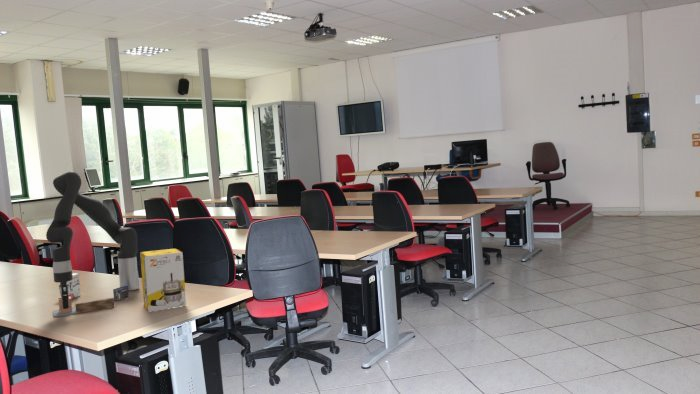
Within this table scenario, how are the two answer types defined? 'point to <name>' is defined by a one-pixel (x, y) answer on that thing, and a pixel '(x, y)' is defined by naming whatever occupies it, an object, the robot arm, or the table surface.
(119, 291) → the mini dv tape
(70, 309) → the terracotta block
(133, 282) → the robot arm
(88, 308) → the walnut screen
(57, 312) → the slate mat
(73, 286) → the ink box
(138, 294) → the table surface
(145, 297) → the packaging box
